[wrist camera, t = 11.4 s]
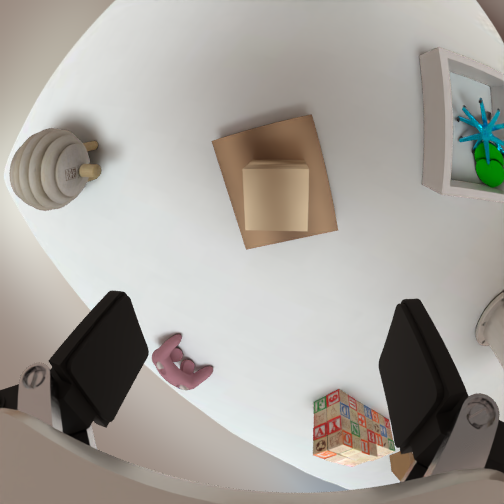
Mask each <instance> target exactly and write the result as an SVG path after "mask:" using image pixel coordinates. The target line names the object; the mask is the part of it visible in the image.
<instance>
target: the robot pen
mask: <svg viewBox="0 0 504 504" xmlns="http://www.w3.org/2000/svg"><path fill="white" fill-rule="evenodd" d="M419 60H420V68H421V77H422V89H423V105H424V160H423V177H422V185H424V186H426V187H428V188H430V189H432V190H434V191H436V192H437V193H439V194H441V195H448V196H457V197H466V198H474V199H481V200H488V201H495V202H502V203H504V180H503V182H502V184H500V185H499V186H497V187H494V188H492V187H489V186H488V185H482V184H477V183H470V182H464V181H457V180H451V168H452V147H453V115H452V95H451V83H450V74H449V72H453V73H456V74H459V75H462V76H464V77H467V78H470V79H473V80H475V81H478V82H480V83H483V84H485V85H488V86H490V87H491V98H492V115H493V116H494V115H495V113H496V112H497V109H500V114H499V116H498V118H497V120H496V122H495V124H502V123H504V74H503V73H501V72H499V71H497V70H495V69H493V68H491V67H489V66H487V65H484V64H482V63H480V62H477V61H475V60H473V59H470V58H468V57H465V56H463V55H460V54H457V53H455V52H452V51H449V50H446V49H443V48H440V47H437V48H435V49H433V50H431V51H428V52H426V53H424V54H422V55H420V56H419ZM495 124H494V125H495ZM493 135H494V136H495V137H497V138H499V139H501V140H502V141H504V128H503V129H499V130H496V131H493ZM493 144H494V143H493ZM501 147H502V149H503V150H504V146H502V145H501ZM503 167H504V166H503Z"/></svg>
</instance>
